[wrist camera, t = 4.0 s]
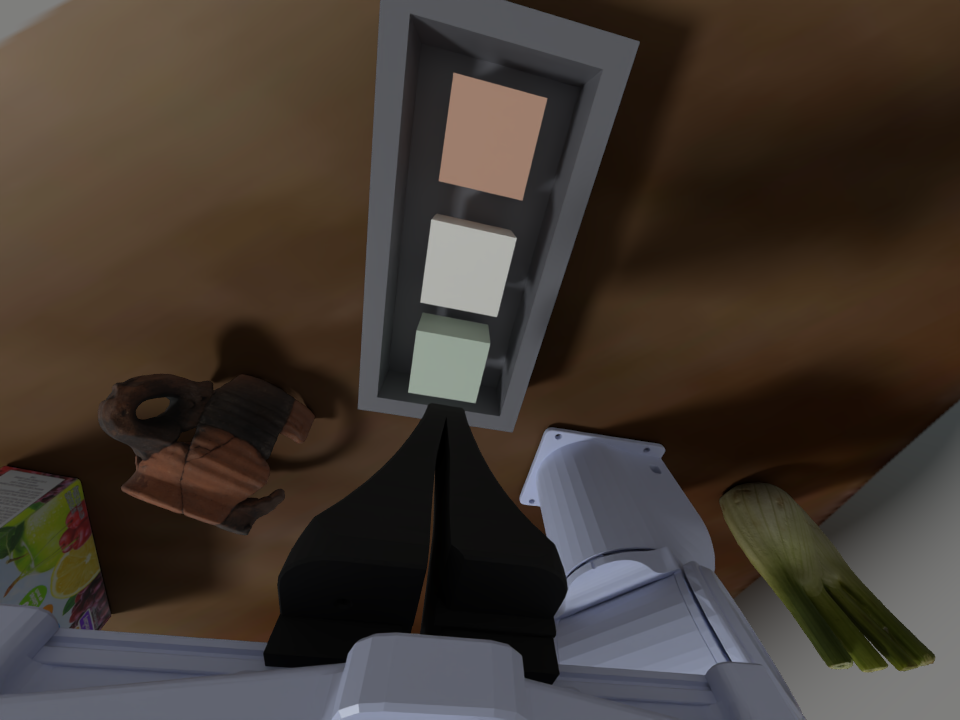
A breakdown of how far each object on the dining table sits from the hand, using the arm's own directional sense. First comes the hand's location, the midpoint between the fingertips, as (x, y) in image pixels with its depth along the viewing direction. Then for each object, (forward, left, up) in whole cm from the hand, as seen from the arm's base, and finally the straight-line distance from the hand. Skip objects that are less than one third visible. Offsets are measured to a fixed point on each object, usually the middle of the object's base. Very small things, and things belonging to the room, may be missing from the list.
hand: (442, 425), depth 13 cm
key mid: (0, -5, -7) cm, 9 cm away
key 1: (0, 0, -7) cm, 7 cm away
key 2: (0, -10, -8) cm, 13 cm away
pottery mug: (+14, +10, -10) cm, 19 cm away
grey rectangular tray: (0, -5, -9) cm, 11 cm away
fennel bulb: (-27, +10, -10) cm, 30 cm away
